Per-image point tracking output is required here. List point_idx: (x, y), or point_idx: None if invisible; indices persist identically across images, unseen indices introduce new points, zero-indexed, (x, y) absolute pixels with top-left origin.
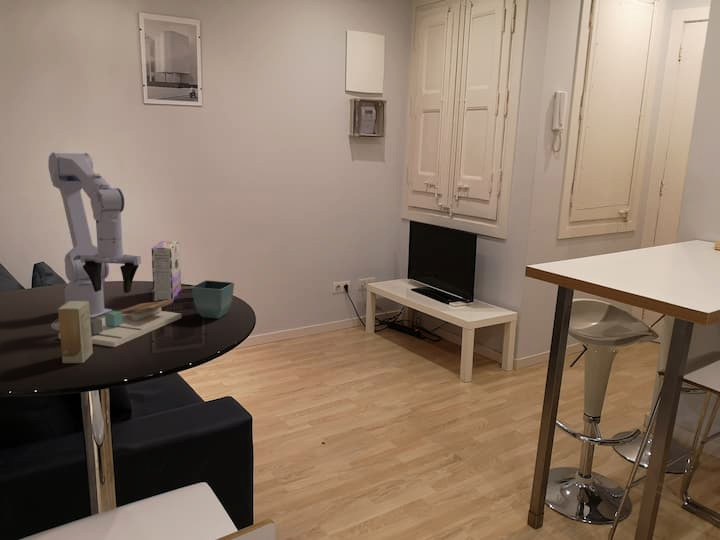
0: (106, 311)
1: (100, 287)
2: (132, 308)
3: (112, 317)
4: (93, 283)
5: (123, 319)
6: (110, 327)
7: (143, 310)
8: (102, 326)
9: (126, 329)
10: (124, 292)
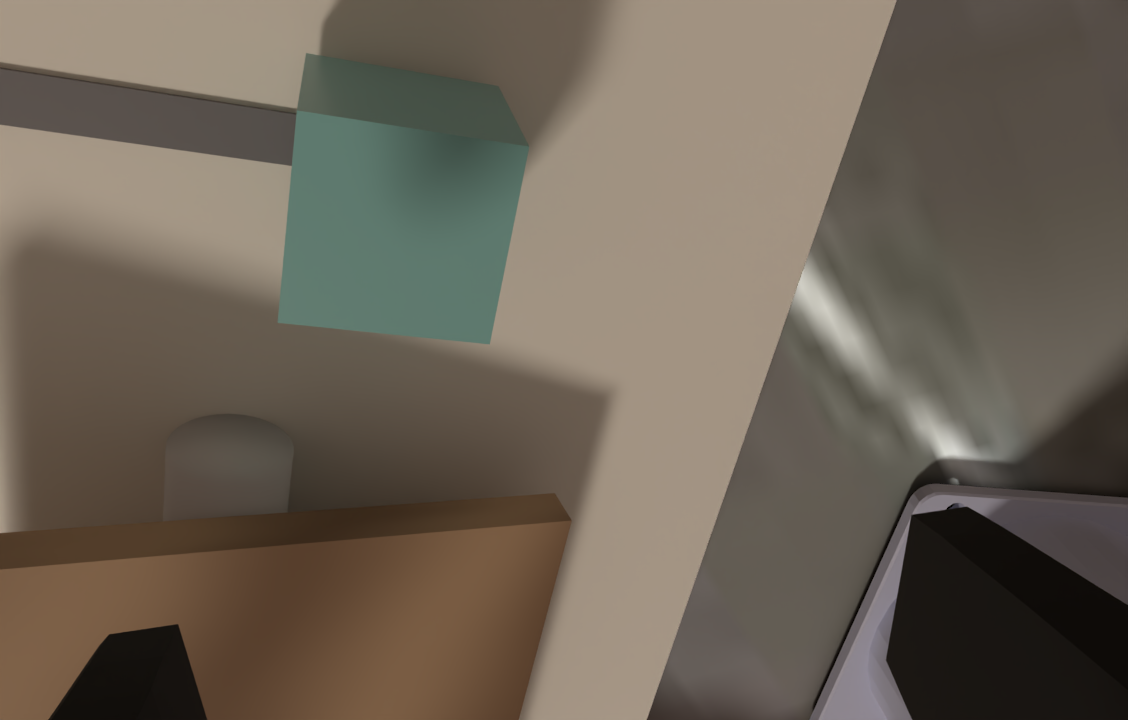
0: (840, 678)
1: (919, 693)
2: (380, 647)
3: (342, 99)
4: (1119, 630)
5: (447, 454)
6: (402, 68)
7: (21, 546)
8: (554, 88)
9: (66, 23)
10: (164, 632)
